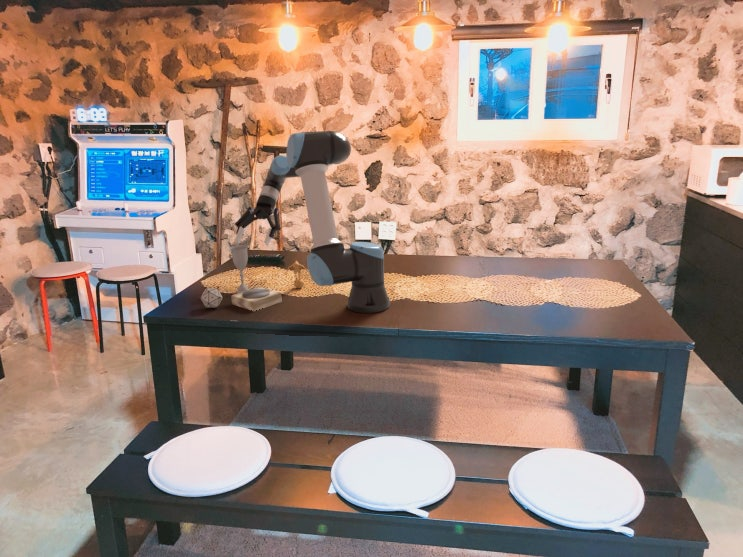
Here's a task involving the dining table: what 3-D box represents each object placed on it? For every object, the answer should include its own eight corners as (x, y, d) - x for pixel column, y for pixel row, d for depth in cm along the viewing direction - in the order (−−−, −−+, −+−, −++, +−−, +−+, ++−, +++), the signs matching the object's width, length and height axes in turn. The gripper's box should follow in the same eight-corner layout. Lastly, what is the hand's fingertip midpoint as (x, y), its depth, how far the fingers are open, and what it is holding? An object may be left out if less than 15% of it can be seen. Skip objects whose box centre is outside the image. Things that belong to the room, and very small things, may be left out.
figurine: (310, 286, 239) (308, 257, 235) (307, 291, 233) (306, 261, 230) (289, 286, 239) (287, 258, 236) (287, 291, 234) (284, 262, 230)
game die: (214, 319, 217) (207, 304, 208) (198, 308, 220) (190, 292, 212) (231, 302, 221) (225, 287, 212) (215, 291, 224) (208, 276, 216)
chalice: (247, 294, 231) (243, 249, 226) (231, 293, 233) (226, 249, 228) (254, 288, 238) (251, 245, 233) (239, 288, 240) (234, 244, 234)
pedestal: (281, 301, 222) (281, 291, 221) (254, 311, 212) (253, 300, 211) (259, 295, 230) (258, 285, 229) (232, 304, 221) (231, 294, 219)
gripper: (297, 205, 247) (282, 249, 238) (246, 203, 256) (229, 245, 247) (290, 195, 241) (275, 239, 232) (237, 193, 249) (220, 236, 240)
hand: (251, 242), depth 239 cm, fingers open, 13 cm apart
